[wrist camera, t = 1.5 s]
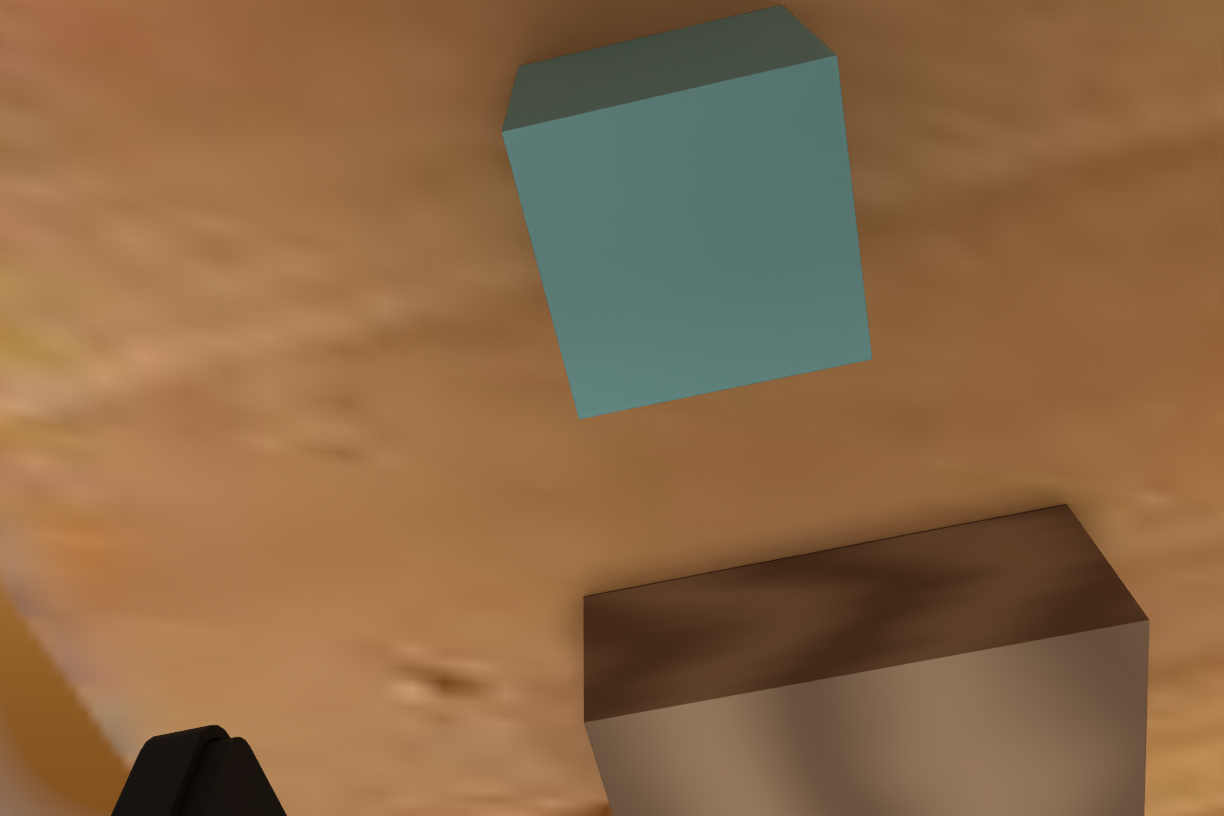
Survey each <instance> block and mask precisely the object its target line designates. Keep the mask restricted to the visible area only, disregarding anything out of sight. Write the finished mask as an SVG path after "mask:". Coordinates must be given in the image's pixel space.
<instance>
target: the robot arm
mask: <svg viewBox="0 0 1224 816" xmlns="http://www.w3.org/2000/svg"><path fill="white" fill-rule="evenodd" d="M111 816H287V815H286V813H285V811H284V809H283V808H282V806H281V804H280V802H279V800H278V798H277V796H276V794H275V792H274V791H273V789H272V787H271V785H270V783H269V781H268V779H267V777H266V776H265V774H264V772H263V770H262V768H261V766H260V764H259V762H258V760H257V759H256V757H255V755H254V753H253V751H252V749H251V747H250V746H249V744H248V743H247V742H246V740H244V739H243V738H241V737H234V738H230V737H229V735H228V734H227V732H226V731H225V730H224V729H223V728H221V727H220V726H218V725H209V726H204V727H199V728H194V729H189V730H184V731H179V732H174V733H169V734H164V735H159V736H154V737H152V738H151V739H149V740H148V741H147V742H146V743H145V744H144V746H143V747H142V749H141V751H140V753H139V755H138V757H137V759H136V761H135V764H134V766H133V768H132V770H131V772H130V775H129V777H128V779H127V782H126V784H125V786H124V788H123V790H122V792H121V795H120V797H119V799H118V801H117V803H116V806H115V808H114V810H113V812H112V815H111Z"/></svg>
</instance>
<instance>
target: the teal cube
mask: <svg viewBox="0 0 1224 816" xmlns="http://www.w3.org/2000/svg"><path fill="white" fill-rule="evenodd" d="M502 135H503V139H504V143H505V146H506V150H507V154H508V157H509V161H510V165H511V169H512V172H513V176H514V180H515V183H516V187H517V191H518V195H519V198H520V202H521V206H522V209H523V213H524V217H525V220H526V224H527V228H528V232H529V235H530V239H531V243H532V246H533V250H534V254H535V258H536V261H537V265H538V269H539V272H540V276H541V280H542V284H543V287H544V291H545V295H546V298H547V302H548V306H549V310H550V313H551V317H552V321H553V324H554V328H555V332H556V335H557V339H558V343H559V347H560V350H561V354H562V358H563V361H564V365H565V369H566V373H567V376H568V380H569V384H570V387H571V391H572V395H573V399H574V402H575V406H576V410H577V413H578V417H579V419H583V418H588V417H593V416H598V415H603V414H608V413H613V412H617V411H622V410H627V409H632V408H637V407H642V406H647V405H652V404H657V403H661V402H666V401H671V400H676V399H681V398H686V397H691V396H696V395H700V394H705V393H710V392H715V391H720V390H725V389H730V388H735V387H739V386H744V385H749V384H754V383H759V382H764V381H769V380H774V379H778V378H783V377H788V376H793V375H798V374H803V373H808V372H813V371H817V370H822V369H827V368H832V367H837V366H842V365H847V364H852V363H857V362H861V361H866V360H871V359H872V353H871V344H870V336H869V327H868V319H867V310H866V301H865V293H864V284H863V275H862V267H861V258H860V249H859V241H858V232H857V223H856V215H855V206H854V198H853V189H852V180H851V172H850V163H849V154H848V146H847V137H846V128H845V120H844V111H843V102H842V94H841V85H840V77H839V68H838V59H837V55H836V54H835V53H834V52H833V51H832V50H831V49H830V48H828V47H827V46H826V45H825V44H824V43H823V42H822V41H821V40H820V39H819V38H817V37H816V36H815V35H814V34H813V33H812V32H811V31H810V30H809V29H807V28H806V27H805V26H804V25H803V24H802V23H801V22H800V21H799V20H798V19H796V18H795V17H794V16H793V15H792V14H791V13H790V12H789V11H788V10H786V9H785V8H784V7H783V6H782V5H779V6H775V7H770V8H766V9H762V10H758V11H753V12H749V13H745V14H740V15H736V16H732V17H728V18H723V19H719V20H715V21H711V22H706V23H702V24H698V25H693V26H689V27H685V28H681V29H676V30H672V31H668V32H663V33H659V34H655V35H651V36H646V37H642V38H638V39H633V40H629V41H625V42H621V43H616V44H612V45H608V46H604V47H599V48H595V49H591V50H586V51H582V52H578V53H574V54H569V55H565V56H561V57H556V58H552V59H548V60H544V61H539V62H535V63H531V64H527V65H522V66H519V68H518V71H517V75H516V79H515V83H514V87H513V91H512V94H511V98H510V102H509V106H508V110H507V113H506V117H505V121H504V125H503V129H502Z"/></svg>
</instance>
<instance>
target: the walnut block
mask: <svg viewBox="0 0 1224 816" xmlns="http://www.w3.org/2000/svg"><path fill="white" fill-rule="evenodd" d="M1148 649H1149V619H1148V617H1147V616H1146V615H1145V613H1144V612H1143V610H1142V609H1141V608H1140V606H1139V605H1138V603H1137V602H1136V601H1135V599H1134V598H1133V596H1132V595H1131V594H1130V592H1129V591H1128V589H1127V588H1126V587H1125V585H1124V584H1123V582H1122V581H1121V580H1120V578H1119V577H1118V575H1117V574H1116V573H1115V571H1114V570H1113V568H1112V567H1111V566H1110V564H1109V563H1108V561H1107V560H1106V559H1105V557H1104V556H1103V554H1102V553H1101V552H1100V550H1099V549H1098V547H1097V546H1096V545H1095V543H1094V542H1093V540H1092V539H1091V538H1090V536H1089V535H1088V533H1087V532H1086V531H1085V529H1084V528H1083V526H1082V525H1081V524H1080V522H1079V521H1078V519H1077V518H1076V517H1075V515H1074V514H1073V512H1072V511H1071V510H1070V508H1069V507H1068V505H1063V506H1058V507H1053V508H1047V509H1042V510H1037V511H1032V512H1026V513H1021V514H1016V515H1011V516H1006V517H1000V518H995V519H990V520H985V521H979V522H974V523H969V524H964V525H959V526H953V527H948V528H943V529H938V530H932V531H927V532H922V533H917V534H912V535H906V536H901V537H896V538H891V539H885V540H880V541H875V542H870V543H865V544H859V545H854V546H849V547H844V548H838V549H833V550H828V551H823V552H818V553H812V554H807V555H802V556H797V557H791V558H786V559H781V560H776V561H771V562H765V563H760V564H755V565H750V566H744V567H739V568H734V569H729V570H724V571H718V572H713V573H708V574H703V575H697V576H692V577H687V578H682V579H677V580H671V581H666V582H661V583H656V584H651V585H645V586H640V587H635V588H630V589H624V590H619V591H614V592H609V593H604V594H598V595H593V596H588V597H584V724H585V727H586V730H587V734H588V737H589V740H590V743H591V746H592V749H593V753H594V756H595V759H596V762H597V765H598V768H599V772H600V775H601V778H602V781H603V784H604V787H605V790H606V794H607V797H608V800H609V803H610V806H611V809H612V813H613V816H1144V804H1145V766H1146V727H1147V688H1148Z"/></svg>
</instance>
